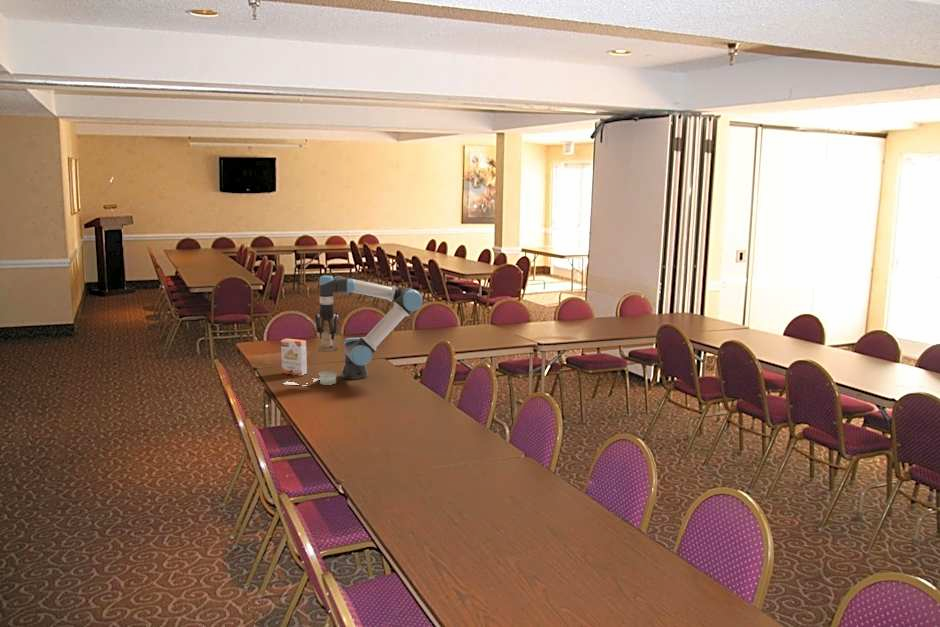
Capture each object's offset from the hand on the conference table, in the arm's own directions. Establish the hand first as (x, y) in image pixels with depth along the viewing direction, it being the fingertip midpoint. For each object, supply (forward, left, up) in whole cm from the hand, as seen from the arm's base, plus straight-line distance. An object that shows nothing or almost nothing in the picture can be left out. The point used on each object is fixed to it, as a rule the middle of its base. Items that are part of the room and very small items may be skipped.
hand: (327, 344), depth 433 cm
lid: (0, 0, -3) cm, 3 cm away
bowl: (0, 0, -23) cm, 23 cm away
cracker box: (-16, -28, -23) cm, 40 cm away
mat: (0, -16, -23) cm, 28 cm away
